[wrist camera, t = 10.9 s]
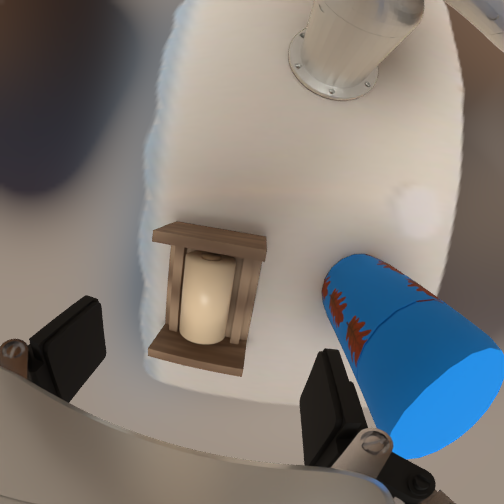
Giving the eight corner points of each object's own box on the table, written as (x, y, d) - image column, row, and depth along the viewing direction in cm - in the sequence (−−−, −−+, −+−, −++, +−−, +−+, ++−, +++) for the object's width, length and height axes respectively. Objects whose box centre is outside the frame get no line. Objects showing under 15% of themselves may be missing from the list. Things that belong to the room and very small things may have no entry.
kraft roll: (194, 245, 35) (179, 256, 29) (239, 253, 35) (233, 266, 29) (186, 319, 37) (173, 340, 32) (227, 328, 37) (220, 351, 31)
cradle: (176, 221, 35) (153, 230, 27) (266, 236, 35) (266, 250, 27) (167, 327, 39) (148, 355, 31) (245, 343, 39) (241, 376, 31)
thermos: (401, 266, 35) (524, 353, 11) (371, 330, 38) (449, 454, 13) (338, 241, 35) (452, 333, 11) (308, 312, 37) (354, 463, 13)
